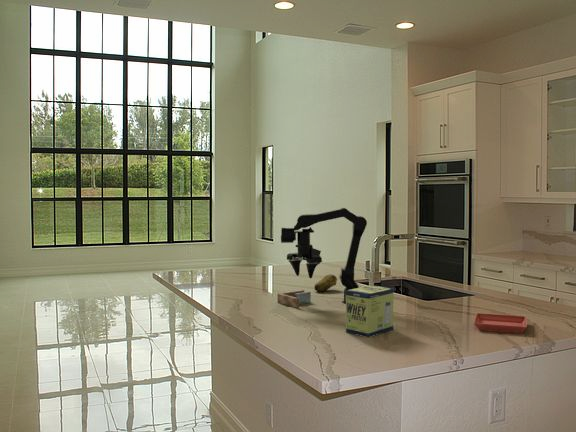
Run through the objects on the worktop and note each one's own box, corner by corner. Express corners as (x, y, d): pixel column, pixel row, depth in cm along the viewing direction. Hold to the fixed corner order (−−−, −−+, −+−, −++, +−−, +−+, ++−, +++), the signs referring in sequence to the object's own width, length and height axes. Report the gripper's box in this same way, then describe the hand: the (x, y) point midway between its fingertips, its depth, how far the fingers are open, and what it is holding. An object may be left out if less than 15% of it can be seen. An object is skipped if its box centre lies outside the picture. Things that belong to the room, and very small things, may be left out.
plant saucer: (476, 320, 227) (476, 312, 227) (526, 324, 221) (526, 315, 220) (473, 331, 210) (473, 322, 210) (527, 336, 204) (527, 326, 204)
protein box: (345, 332, 210) (344, 290, 209) (371, 325, 220) (371, 284, 220) (368, 337, 202) (368, 293, 201) (394, 329, 213) (394, 287, 212)
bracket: (296, 305, 258) (296, 294, 258) (289, 303, 263) (289, 292, 262) (310, 302, 263) (310, 291, 263) (302, 300, 267) (302, 290, 267)
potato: (310, 290, 293) (310, 274, 293) (333, 288, 297) (333, 273, 297) (316, 293, 285) (316, 277, 285) (340, 291, 289) (340, 275, 289)
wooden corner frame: (322, 303, 261) (322, 294, 261) (296, 307, 252) (296, 298, 252) (302, 298, 272) (302, 290, 272) (277, 302, 263) (277, 293, 263)
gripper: (330, 242, 258) (331, 277, 259) (304, 239, 273) (305, 272, 274) (311, 244, 251) (312, 280, 252) (285, 241, 266) (286, 275, 267)
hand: (304, 276), depth 261 cm, fingers open, 9 cm apart
